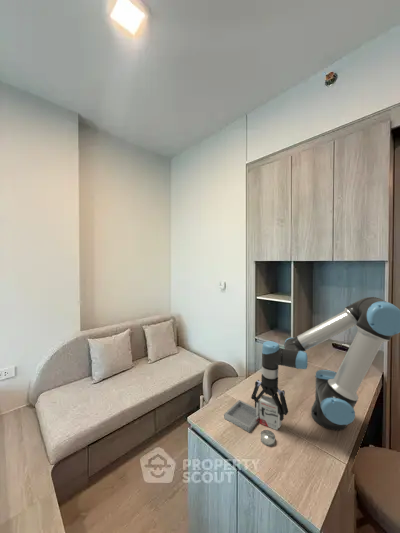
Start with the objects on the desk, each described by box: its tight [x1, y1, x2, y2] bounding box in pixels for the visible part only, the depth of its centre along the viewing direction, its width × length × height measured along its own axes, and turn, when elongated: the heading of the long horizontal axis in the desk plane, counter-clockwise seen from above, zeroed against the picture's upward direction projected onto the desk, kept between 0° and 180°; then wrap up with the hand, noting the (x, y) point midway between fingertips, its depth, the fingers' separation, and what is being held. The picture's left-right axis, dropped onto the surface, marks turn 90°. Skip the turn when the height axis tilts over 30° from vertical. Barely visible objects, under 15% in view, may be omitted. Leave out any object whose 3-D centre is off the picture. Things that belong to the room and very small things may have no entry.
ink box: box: [259, 394, 279, 431], centre depth 106 cm, size 8×5×12 cm, turn 59°
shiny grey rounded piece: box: [260, 429, 276, 447], centre depth 97 cm, size 6×6×2 cm
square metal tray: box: [223, 399, 260, 434], centre depth 111 cm, size 14×14×2 cm
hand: (268, 419), depth 107 cm, fingers open, 10 cm apart
